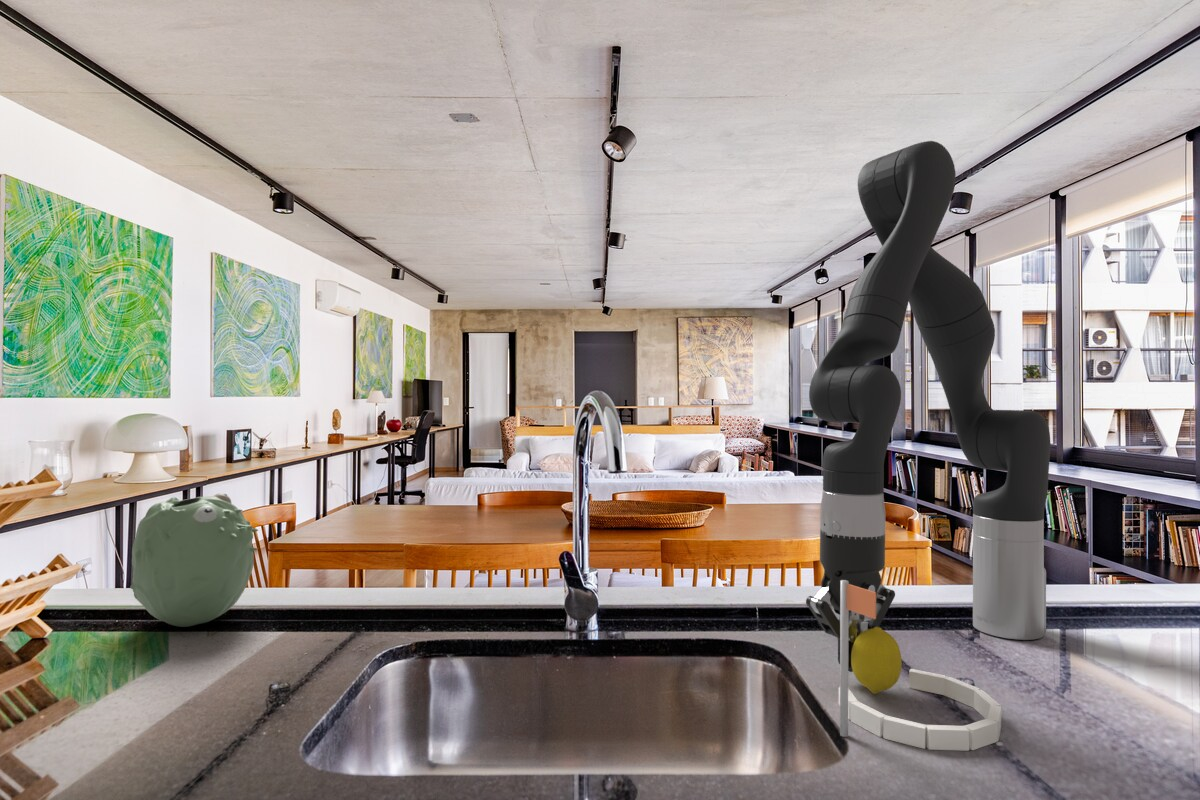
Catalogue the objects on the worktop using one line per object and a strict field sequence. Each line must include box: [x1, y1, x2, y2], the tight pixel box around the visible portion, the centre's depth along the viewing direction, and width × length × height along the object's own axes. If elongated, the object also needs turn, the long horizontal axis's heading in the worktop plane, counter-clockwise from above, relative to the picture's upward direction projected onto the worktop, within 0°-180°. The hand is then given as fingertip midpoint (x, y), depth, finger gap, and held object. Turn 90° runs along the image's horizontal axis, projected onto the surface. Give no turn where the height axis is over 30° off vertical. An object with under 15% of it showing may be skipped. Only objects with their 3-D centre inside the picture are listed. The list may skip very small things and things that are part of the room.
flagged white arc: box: [838, 580, 1002, 752], centre depth 75 cm, size 19×14×16 cm
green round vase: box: [129, 493, 259, 628], centre depth 107 cm, size 16×19×20 cm
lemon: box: [851, 626, 903, 695], centre depth 82 cm, size 6×6×8 cm
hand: (850, 668), depth 85 cm, fingers closed
